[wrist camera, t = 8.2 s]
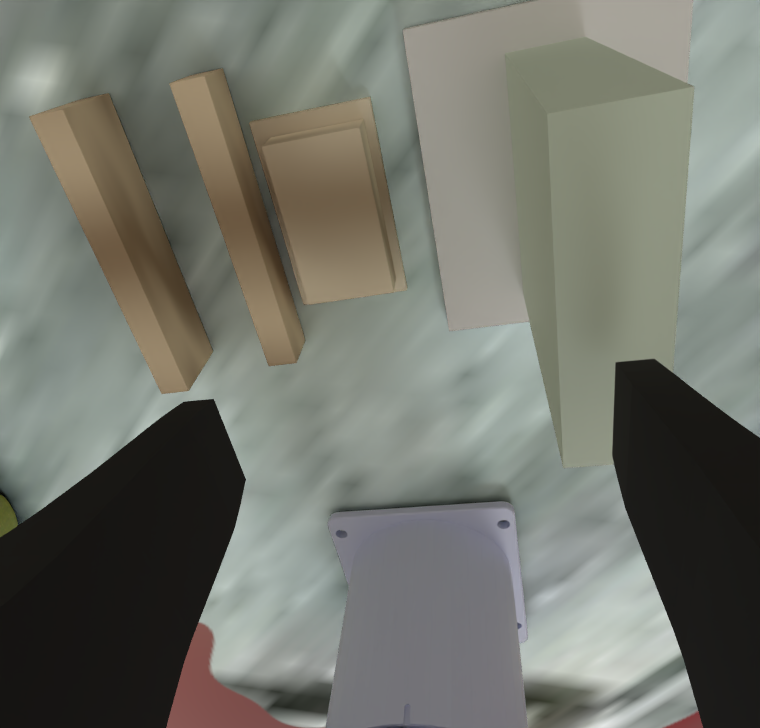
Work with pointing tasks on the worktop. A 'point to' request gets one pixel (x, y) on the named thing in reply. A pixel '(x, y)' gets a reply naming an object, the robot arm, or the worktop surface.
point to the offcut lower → (322, 118)
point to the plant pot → (6, 517)
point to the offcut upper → (332, 211)
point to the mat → (505, 129)
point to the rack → (146, 234)
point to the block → (597, 223)
